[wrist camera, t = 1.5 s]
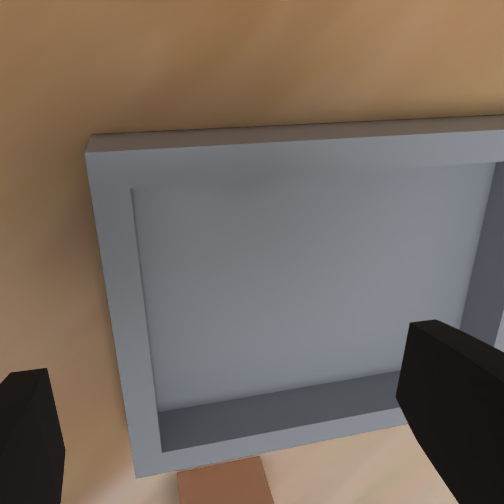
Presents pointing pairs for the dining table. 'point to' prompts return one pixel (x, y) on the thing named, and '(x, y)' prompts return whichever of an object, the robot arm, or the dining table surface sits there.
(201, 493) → the block
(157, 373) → the tray
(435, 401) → the robot arm
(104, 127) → the dining table surface
